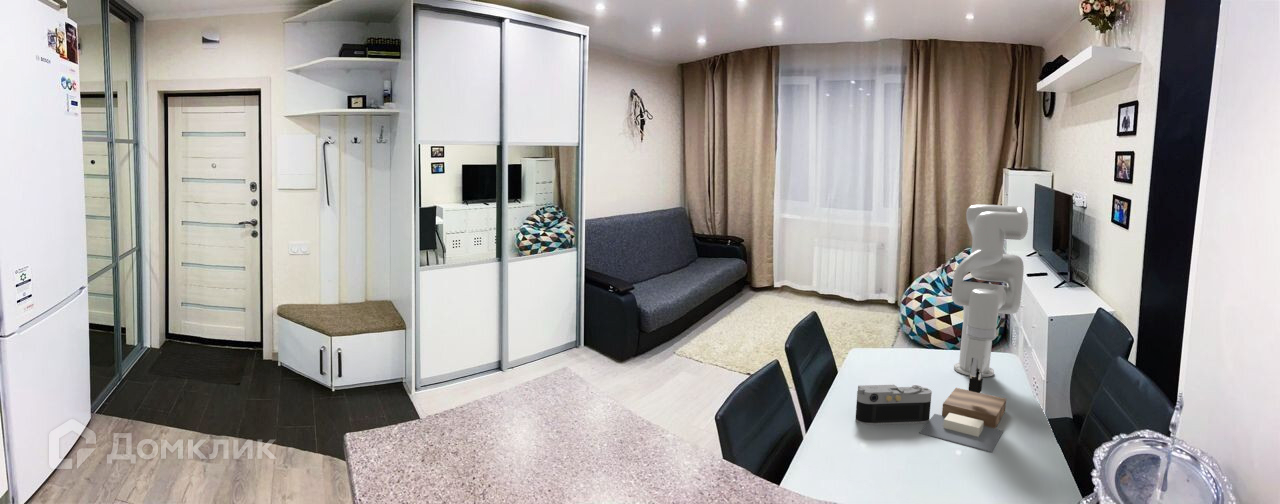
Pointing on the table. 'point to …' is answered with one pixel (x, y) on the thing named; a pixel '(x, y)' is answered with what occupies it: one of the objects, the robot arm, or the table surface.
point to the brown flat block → (975, 406)
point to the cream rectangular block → (963, 424)
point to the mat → (962, 434)
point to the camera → (892, 404)
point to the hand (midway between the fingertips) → (974, 390)
